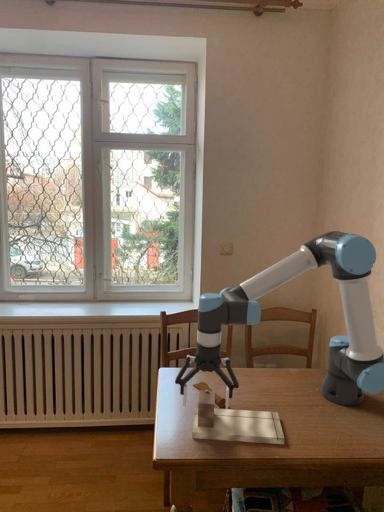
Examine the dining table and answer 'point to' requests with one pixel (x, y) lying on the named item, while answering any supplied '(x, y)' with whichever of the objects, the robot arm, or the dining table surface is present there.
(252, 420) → the board
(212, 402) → the beige drawer
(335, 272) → the robot arm
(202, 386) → the primitive tool
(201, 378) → the dining table surface
